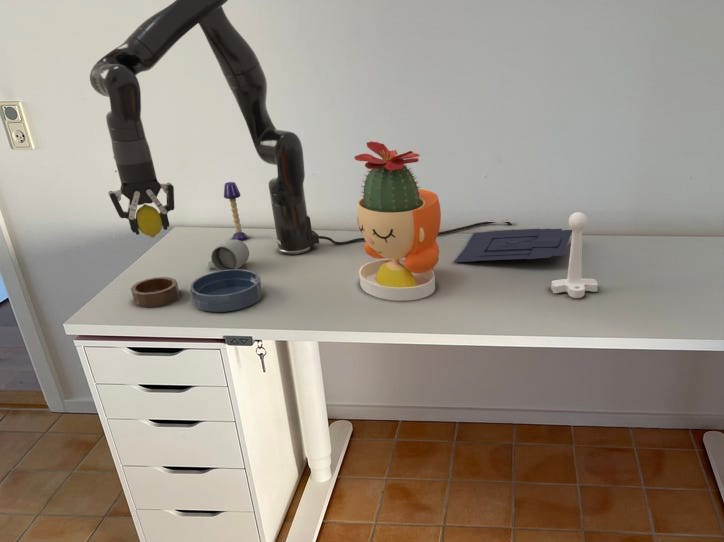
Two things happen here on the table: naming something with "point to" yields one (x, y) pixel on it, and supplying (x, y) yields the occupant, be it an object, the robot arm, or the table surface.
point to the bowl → (226, 290)
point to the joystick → (575, 263)
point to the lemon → (148, 220)
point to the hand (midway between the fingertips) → (151, 230)
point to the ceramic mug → (229, 255)
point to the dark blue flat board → (515, 244)
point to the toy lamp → (234, 208)
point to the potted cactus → (397, 228)
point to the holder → (155, 292)
